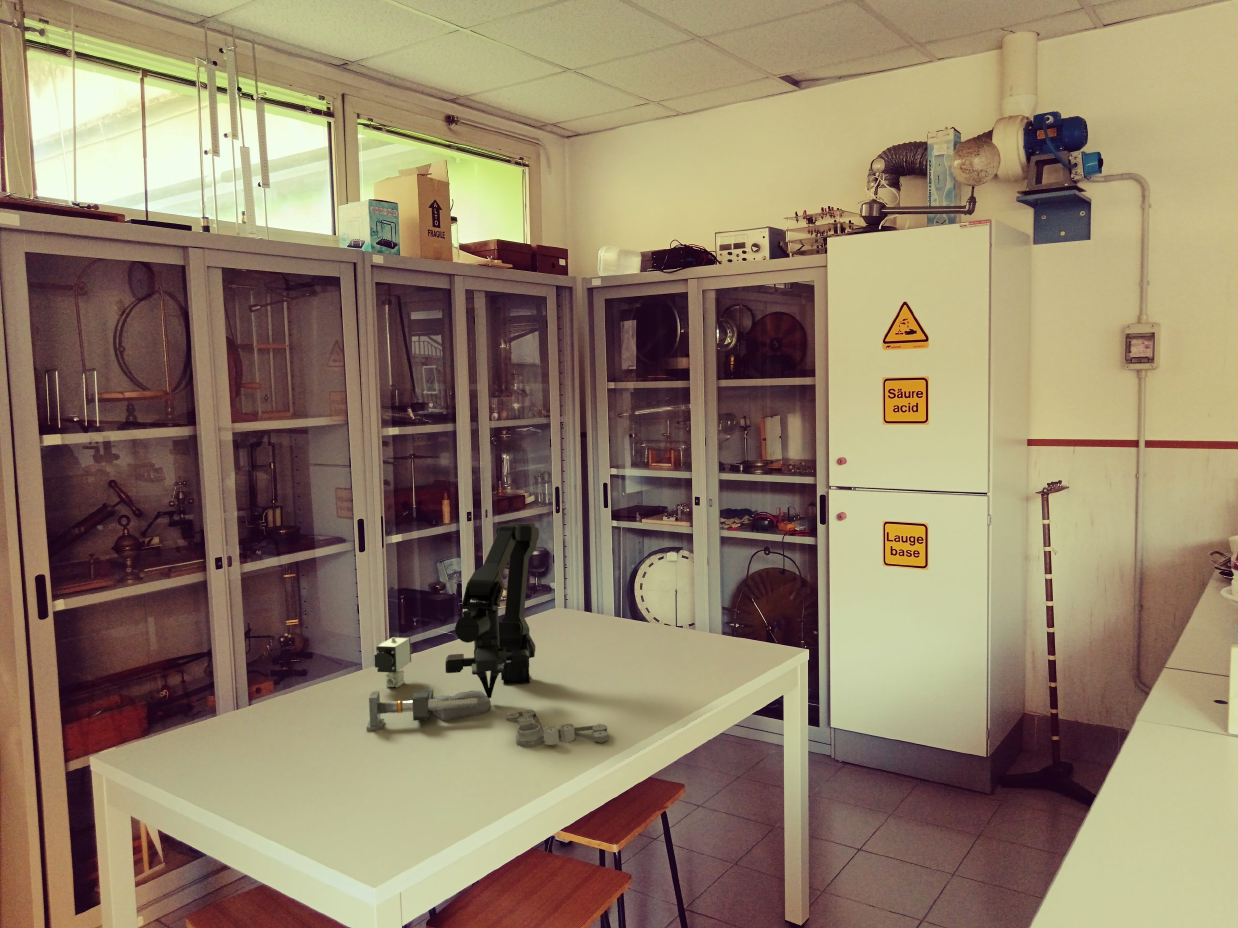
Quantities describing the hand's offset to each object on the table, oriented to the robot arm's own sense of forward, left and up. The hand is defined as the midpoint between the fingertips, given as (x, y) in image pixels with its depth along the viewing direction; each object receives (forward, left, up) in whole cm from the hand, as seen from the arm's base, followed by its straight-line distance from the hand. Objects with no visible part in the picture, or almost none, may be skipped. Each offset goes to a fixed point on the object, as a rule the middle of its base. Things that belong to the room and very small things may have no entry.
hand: (489, 697), depth 206 cm
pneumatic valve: (+24, -18, -2) cm, 30 cm away
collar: (+14, +5, 0) cm, 15 cm away
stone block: (+7, +3, -2) cm, 7 cm away
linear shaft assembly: (+14, +10, -1) cm, 17 cm away
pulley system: (-12, +21, -2) cm, 24 cm away
